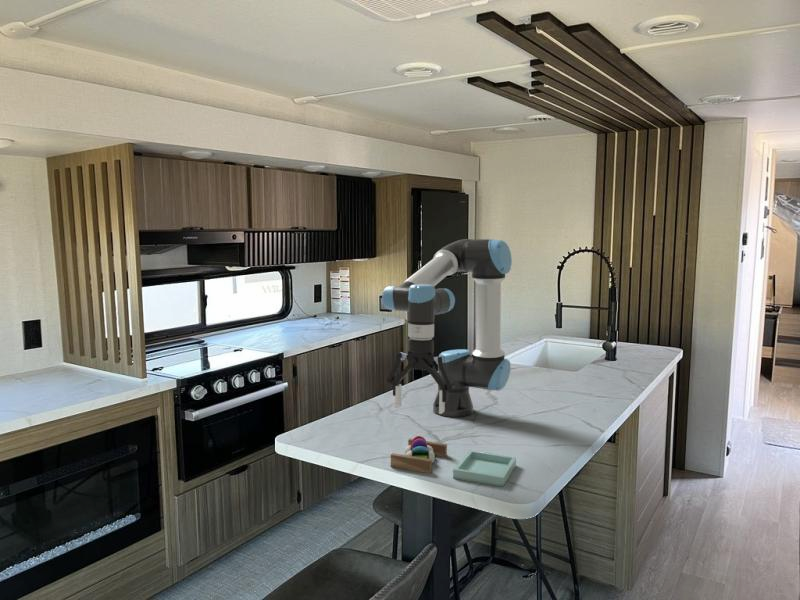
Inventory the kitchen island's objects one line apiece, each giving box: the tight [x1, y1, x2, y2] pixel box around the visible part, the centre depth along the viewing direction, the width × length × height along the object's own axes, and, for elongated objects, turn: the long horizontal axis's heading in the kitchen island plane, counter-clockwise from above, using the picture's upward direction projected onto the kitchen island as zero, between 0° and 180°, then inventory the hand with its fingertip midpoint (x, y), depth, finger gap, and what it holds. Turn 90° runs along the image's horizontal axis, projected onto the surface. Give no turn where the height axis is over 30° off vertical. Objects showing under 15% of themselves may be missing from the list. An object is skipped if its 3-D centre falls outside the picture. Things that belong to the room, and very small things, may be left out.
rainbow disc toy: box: [404, 435, 436, 464], centre depth 178 cm, size 8×10×7 cm
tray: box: [452, 449, 517, 488], centre depth 171 cm, size 16×14×2 cm
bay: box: [390, 438, 448, 474], centre depth 179 cm, size 15×12×4 cm
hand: (419, 409), depth 177 cm, fingers open, 13 cm apart
